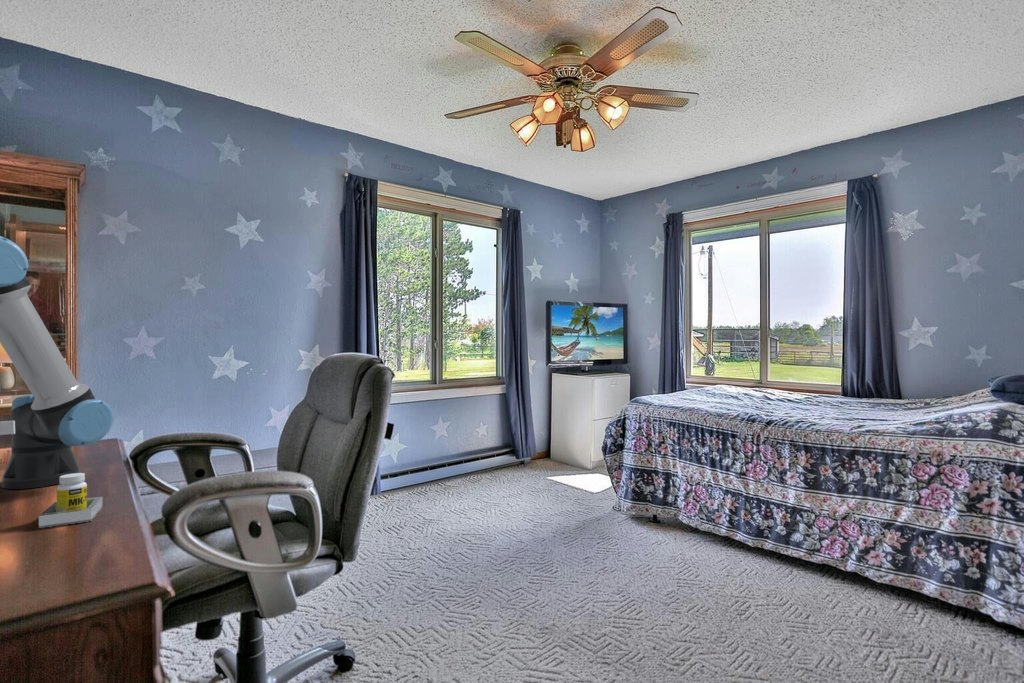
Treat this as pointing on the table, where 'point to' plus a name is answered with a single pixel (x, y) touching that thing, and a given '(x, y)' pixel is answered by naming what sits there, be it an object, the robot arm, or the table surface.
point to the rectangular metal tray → (70, 514)
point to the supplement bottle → (72, 492)
